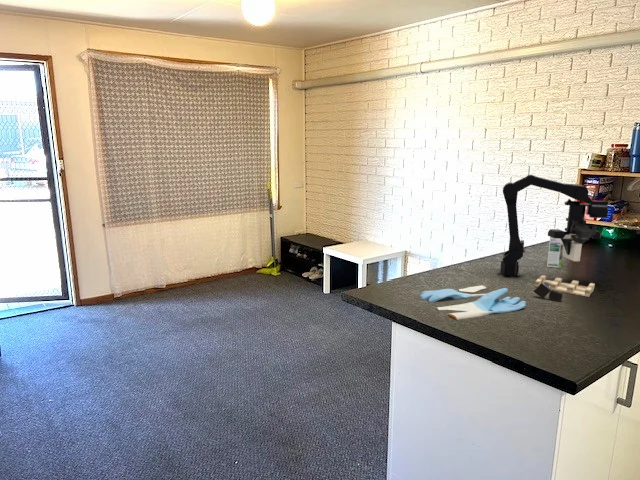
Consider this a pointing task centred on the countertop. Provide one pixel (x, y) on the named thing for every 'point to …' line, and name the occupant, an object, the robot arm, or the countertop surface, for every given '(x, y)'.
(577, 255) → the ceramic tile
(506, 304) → the rubber gloves
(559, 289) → the slotted rack
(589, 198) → the robot arm
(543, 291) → the black joined square panels
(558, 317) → the countertop surface
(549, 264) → the syrup box
